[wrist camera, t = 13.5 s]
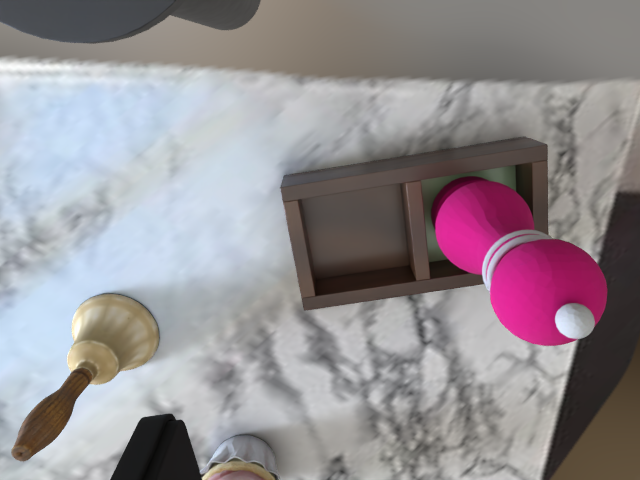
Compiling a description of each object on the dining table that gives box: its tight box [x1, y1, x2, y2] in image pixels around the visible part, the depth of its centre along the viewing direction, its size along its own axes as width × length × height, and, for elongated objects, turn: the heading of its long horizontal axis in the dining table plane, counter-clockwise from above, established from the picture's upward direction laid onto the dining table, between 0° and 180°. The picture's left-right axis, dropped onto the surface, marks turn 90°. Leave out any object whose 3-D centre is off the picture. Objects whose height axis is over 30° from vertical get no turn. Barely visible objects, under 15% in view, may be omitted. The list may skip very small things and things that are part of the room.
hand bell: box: [11, 294, 159, 461], centre depth 40 cm, size 8×8×16 cm
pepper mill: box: [431, 176, 607, 346], centre depth 33 cm, size 7×7×20 cm
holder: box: [280, 137, 548, 310], centre depth 42 cm, size 11×21×4 cm, turn 99°
